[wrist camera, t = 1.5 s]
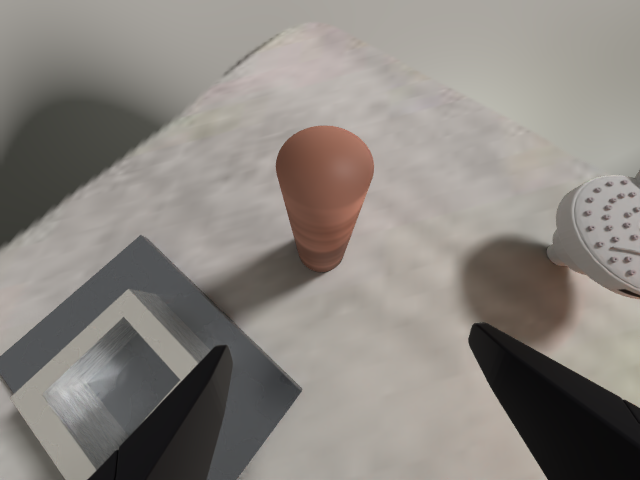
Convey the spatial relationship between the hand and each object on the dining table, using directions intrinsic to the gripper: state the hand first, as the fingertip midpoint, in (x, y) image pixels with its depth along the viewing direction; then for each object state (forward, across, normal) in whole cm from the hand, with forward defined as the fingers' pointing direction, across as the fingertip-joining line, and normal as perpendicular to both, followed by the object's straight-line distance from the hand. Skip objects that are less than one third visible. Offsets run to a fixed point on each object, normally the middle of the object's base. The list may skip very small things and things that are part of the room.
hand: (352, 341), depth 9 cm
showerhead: (+13, -22, +5) cm, 26 cm away
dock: (+8, +15, +10) cm, 20 cm away
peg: (+14, 0, +3) cm, 15 cm away
